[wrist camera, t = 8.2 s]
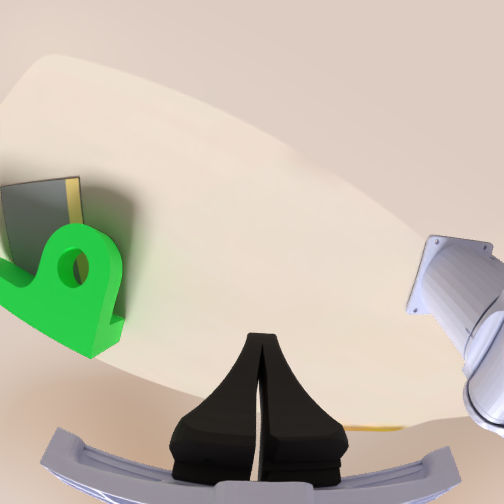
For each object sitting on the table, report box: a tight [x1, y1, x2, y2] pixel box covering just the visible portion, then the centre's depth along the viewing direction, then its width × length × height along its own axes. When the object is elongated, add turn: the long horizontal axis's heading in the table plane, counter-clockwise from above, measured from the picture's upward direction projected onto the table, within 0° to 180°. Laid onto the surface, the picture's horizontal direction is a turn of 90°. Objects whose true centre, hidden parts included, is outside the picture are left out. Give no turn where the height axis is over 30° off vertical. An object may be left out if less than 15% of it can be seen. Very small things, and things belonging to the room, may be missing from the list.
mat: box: [0, 178, 89, 285], centre depth 22 cm, size 13×14×1 cm
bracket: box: [0, 223, 125, 359], centre depth 21 cm, size 20×10×7 cm
